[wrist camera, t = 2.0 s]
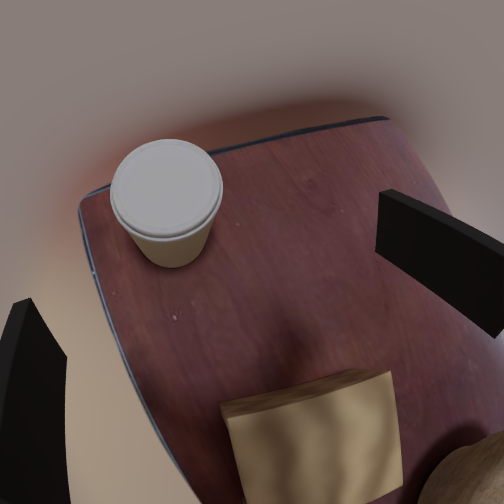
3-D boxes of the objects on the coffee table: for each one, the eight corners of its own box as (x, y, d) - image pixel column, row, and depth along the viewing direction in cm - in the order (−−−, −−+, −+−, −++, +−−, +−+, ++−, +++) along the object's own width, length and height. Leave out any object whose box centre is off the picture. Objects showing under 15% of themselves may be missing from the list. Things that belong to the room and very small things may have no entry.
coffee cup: (199, 190, 37) (205, 126, 26) (224, 261, 35) (240, 218, 23) (125, 211, 34) (101, 152, 23) (143, 286, 32) (119, 253, 21)
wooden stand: (244, 506, 26) (258, 540, 19) (218, 402, 30) (226, 418, 22) (367, 466, 30) (403, 484, 22) (352, 368, 34) (391, 370, 26)
